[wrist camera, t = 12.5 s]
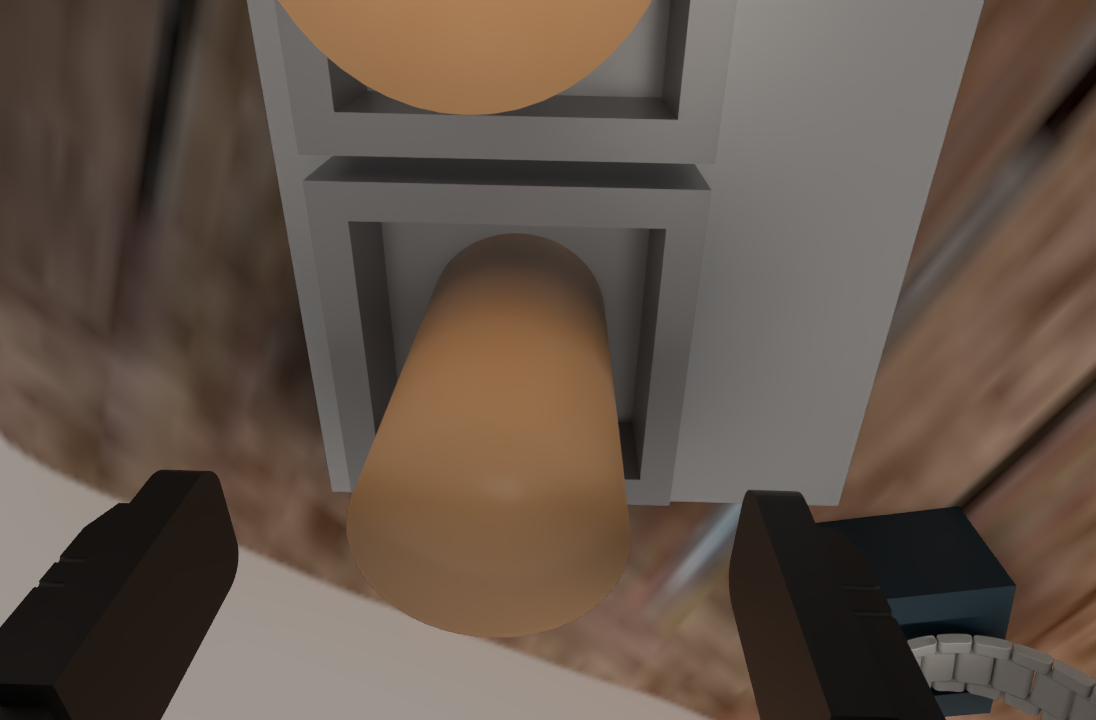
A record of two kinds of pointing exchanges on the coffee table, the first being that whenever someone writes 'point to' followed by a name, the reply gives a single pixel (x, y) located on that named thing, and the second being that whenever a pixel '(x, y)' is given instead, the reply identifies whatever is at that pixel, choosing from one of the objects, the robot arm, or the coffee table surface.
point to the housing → (622, 202)
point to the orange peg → (499, 451)
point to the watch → (962, 616)
